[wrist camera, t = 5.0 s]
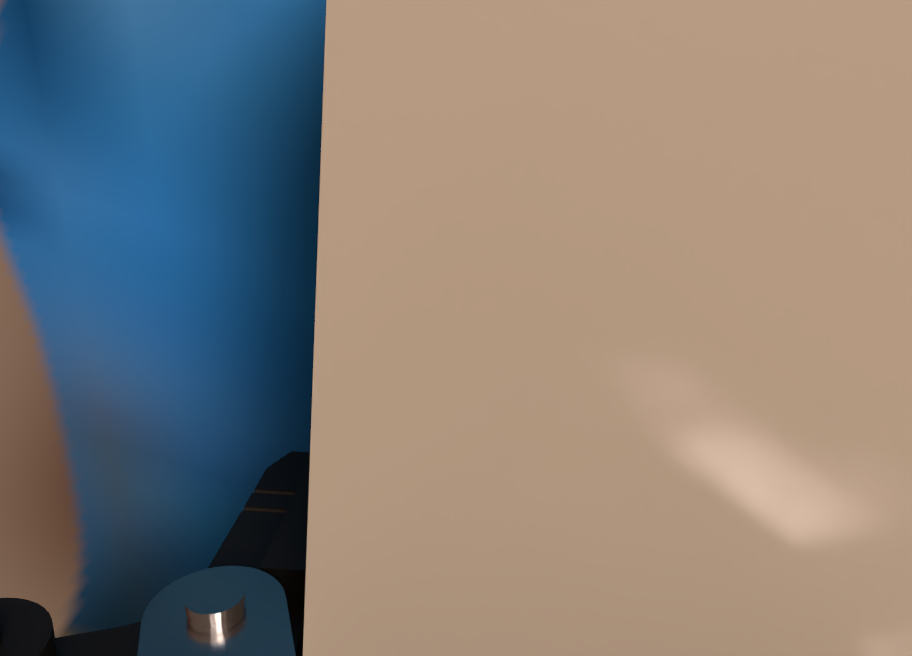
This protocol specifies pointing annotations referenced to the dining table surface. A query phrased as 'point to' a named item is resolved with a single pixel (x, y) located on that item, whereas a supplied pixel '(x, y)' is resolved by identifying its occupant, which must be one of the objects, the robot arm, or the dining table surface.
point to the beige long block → (613, 330)
